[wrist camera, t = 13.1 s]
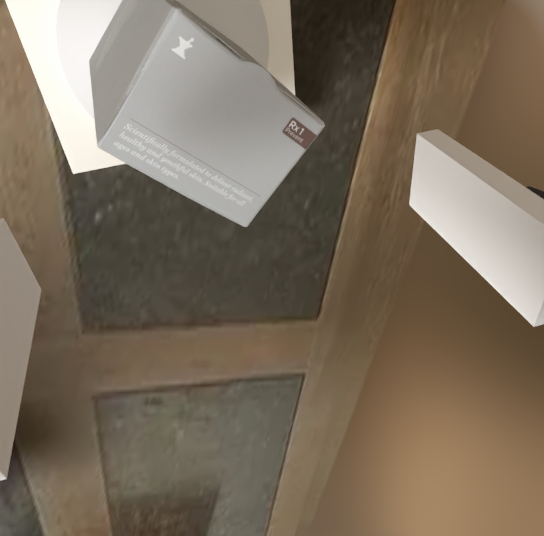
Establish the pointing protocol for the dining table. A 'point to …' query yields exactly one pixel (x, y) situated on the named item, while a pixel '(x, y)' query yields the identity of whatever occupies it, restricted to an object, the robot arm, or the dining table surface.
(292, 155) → the skincare box
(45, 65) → the scale
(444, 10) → the dining table surface
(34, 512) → the dining table surface
